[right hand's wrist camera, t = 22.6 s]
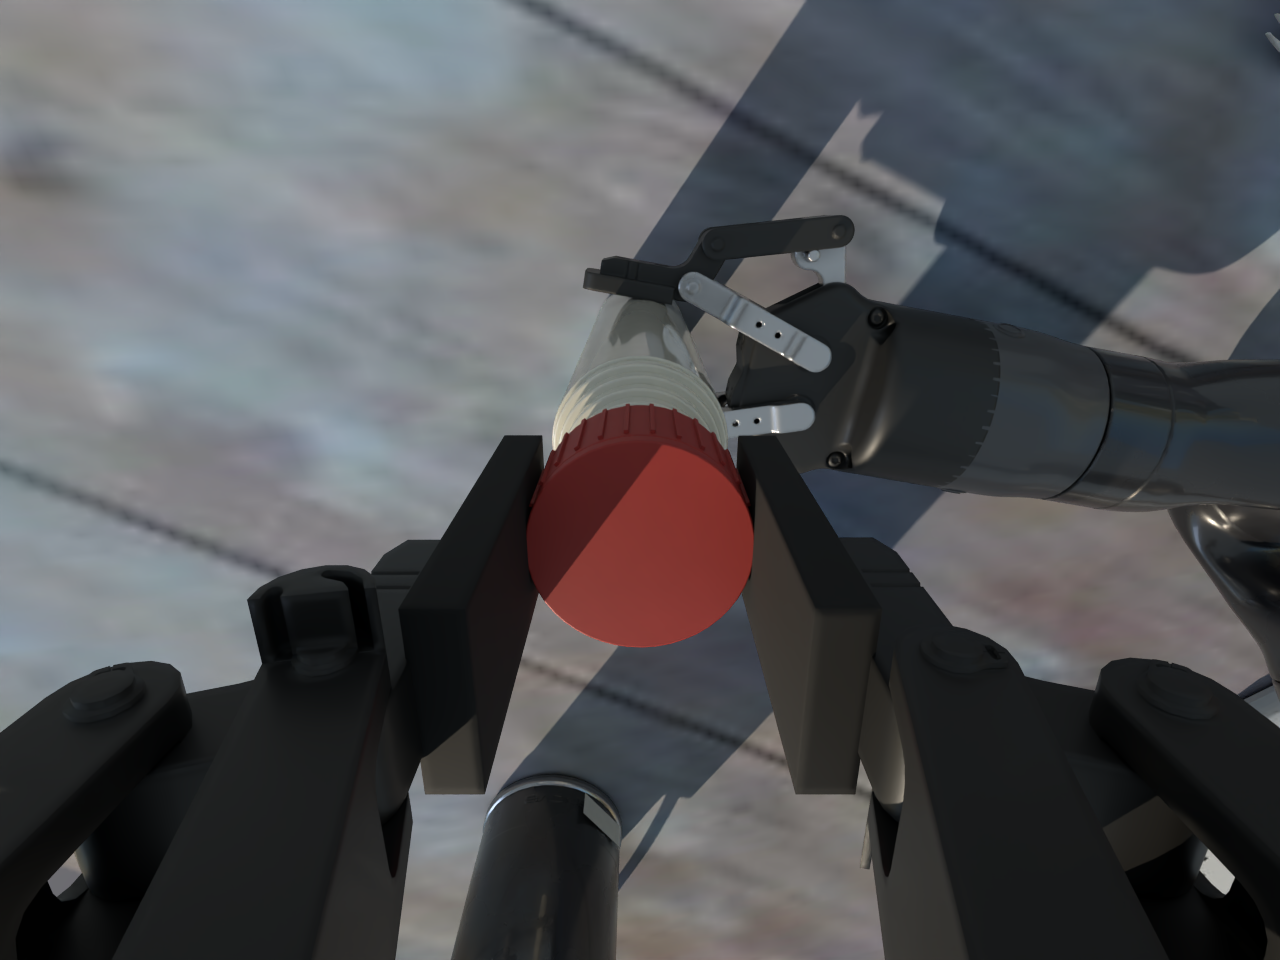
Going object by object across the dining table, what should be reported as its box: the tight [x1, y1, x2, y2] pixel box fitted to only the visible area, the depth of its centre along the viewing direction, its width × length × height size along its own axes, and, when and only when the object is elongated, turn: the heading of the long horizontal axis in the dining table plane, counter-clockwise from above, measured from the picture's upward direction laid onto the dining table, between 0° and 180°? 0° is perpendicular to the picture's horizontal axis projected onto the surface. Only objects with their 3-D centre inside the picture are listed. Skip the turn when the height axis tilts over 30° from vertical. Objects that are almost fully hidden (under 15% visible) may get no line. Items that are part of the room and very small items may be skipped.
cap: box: [526, 403, 754, 647], centre depth 13 cm, size 4×4×2 cm
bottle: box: [552, 294, 728, 450], centre depth 24 cm, size 4×4×24 cm
